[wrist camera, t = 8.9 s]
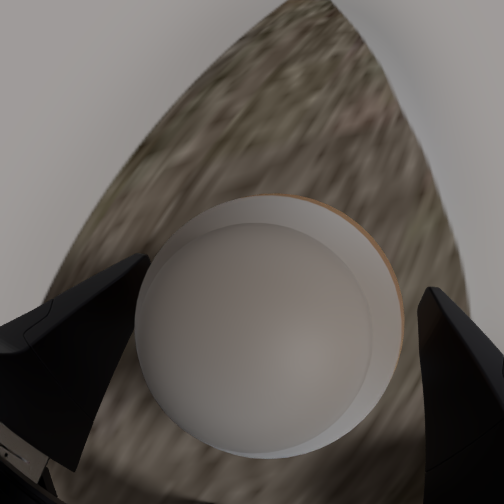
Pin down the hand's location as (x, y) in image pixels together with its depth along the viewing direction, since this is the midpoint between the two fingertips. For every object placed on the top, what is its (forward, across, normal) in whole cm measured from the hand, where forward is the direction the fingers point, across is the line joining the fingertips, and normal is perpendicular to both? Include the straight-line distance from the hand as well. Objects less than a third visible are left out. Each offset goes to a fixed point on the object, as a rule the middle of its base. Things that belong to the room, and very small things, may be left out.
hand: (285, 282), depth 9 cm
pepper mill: (+5, 0, +7) cm, 8 cm away
